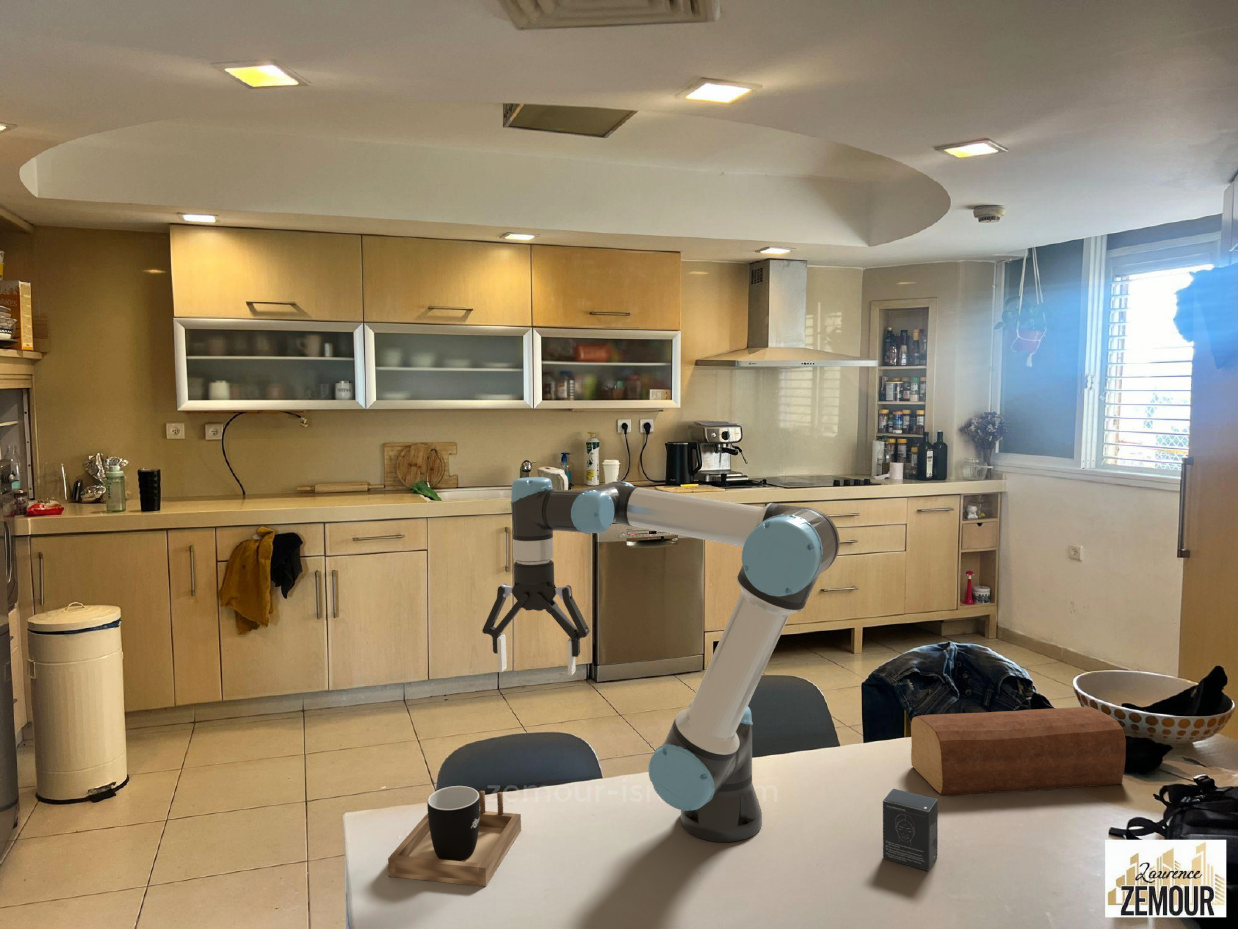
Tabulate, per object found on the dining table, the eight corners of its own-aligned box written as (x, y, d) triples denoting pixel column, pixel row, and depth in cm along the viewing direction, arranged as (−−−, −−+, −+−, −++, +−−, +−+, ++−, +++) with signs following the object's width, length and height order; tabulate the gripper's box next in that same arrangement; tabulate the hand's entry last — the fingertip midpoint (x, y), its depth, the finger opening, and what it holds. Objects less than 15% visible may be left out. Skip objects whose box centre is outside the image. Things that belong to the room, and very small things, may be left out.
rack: (521, 830, 160) (519, 793, 159) (486, 886, 142) (484, 844, 142) (433, 823, 164) (432, 786, 163) (388, 876, 146) (386, 835, 145)
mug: (478, 865, 147) (476, 808, 146) (425, 868, 146) (423, 811, 146) (485, 830, 159) (483, 777, 158) (436, 832, 158) (434, 779, 158)
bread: (1128, 788, 173) (1130, 723, 171) (940, 799, 169) (941, 733, 168) (1080, 755, 188) (1081, 696, 187) (908, 765, 185) (908, 705, 184)
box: (937, 857, 148) (938, 798, 147) (928, 872, 144) (929, 811, 143) (892, 844, 153) (892, 786, 152) (881, 858, 148) (882, 799, 147)
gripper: (603, 557, 162) (605, 668, 163) (477, 555, 167) (481, 662, 168) (594, 565, 154) (596, 681, 156) (462, 563, 159) (467, 675, 161)
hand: (536, 671), depth 162 cm, fingers open, 13 cm apart
